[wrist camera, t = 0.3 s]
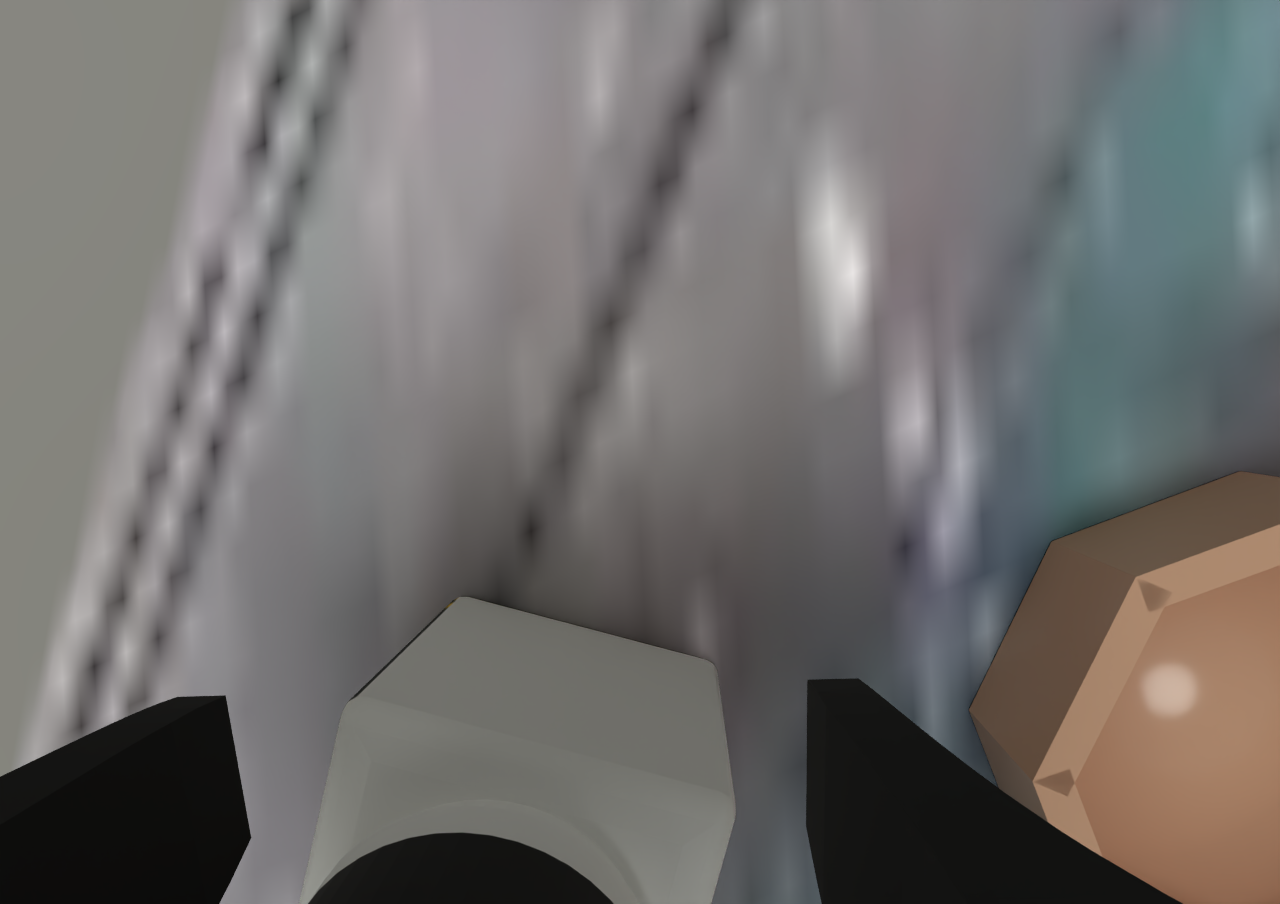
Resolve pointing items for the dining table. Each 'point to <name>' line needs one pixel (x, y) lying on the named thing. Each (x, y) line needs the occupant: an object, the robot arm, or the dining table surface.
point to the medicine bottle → (526, 771)
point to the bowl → (1153, 692)
